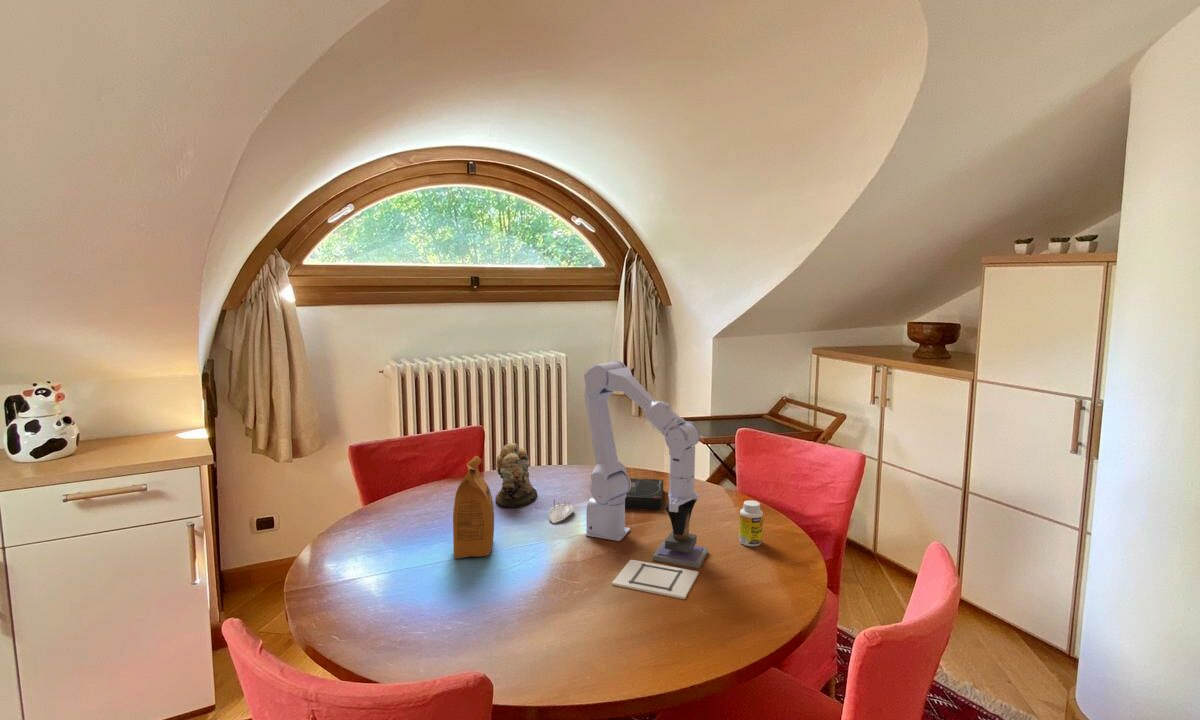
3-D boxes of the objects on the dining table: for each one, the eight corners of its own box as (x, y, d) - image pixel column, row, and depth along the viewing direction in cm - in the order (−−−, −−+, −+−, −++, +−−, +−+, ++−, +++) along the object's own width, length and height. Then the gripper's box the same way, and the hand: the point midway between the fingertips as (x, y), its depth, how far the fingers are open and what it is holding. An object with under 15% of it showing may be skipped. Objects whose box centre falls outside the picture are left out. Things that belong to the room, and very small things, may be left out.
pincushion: (564, 526, 168) (564, 506, 167) (543, 524, 170) (542, 503, 169) (578, 510, 180) (578, 491, 179) (558, 508, 181) (558, 489, 181)
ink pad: (652, 560, 148) (652, 554, 148) (663, 544, 156) (663, 539, 156) (699, 568, 144) (699, 562, 144) (707, 552, 152) (708, 546, 152)
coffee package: (499, 538, 160) (497, 453, 157) (491, 560, 148) (489, 469, 145) (460, 538, 160) (457, 453, 157) (448, 560, 148) (445, 469, 145)
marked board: (611, 584, 136) (612, 581, 136) (630, 561, 147) (630, 558, 147) (684, 599, 130) (684, 596, 130) (698, 573, 141) (698, 570, 141)
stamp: (664, 548, 148) (665, 515, 147) (671, 538, 154) (672, 507, 152) (690, 553, 146) (690, 519, 145) (696, 542, 151) (697, 510, 150)
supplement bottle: (750, 549, 154) (752, 508, 152) (734, 541, 158) (735, 501, 157) (766, 543, 157) (768, 504, 155) (749, 536, 161) (751, 497, 160)
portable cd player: (607, 489, 197) (607, 477, 197) (663, 492, 195) (663, 479, 194) (600, 509, 181) (600, 495, 181) (660, 512, 179) (661, 498, 178)
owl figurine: (530, 511, 179) (529, 452, 176) (489, 510, 180) (487, 451, 177) (541, 488, 197) (539, 435, 194) (503, 488, 197) (501, 434, 195)
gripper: (691, 487, 139) (689, 545, 141) (706, 468, 152) (704, 522, 154) (660, 482, 142) (659, 540, 144) (677, 464, 155) (676, 517, 157)
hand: (680, 530), depth 149 cm, fingers closed on stamp, 4 cm apart
